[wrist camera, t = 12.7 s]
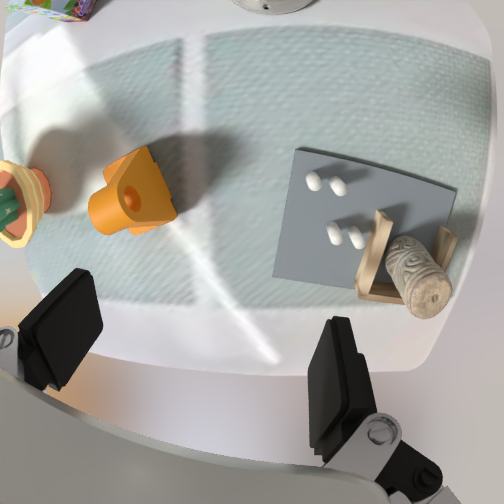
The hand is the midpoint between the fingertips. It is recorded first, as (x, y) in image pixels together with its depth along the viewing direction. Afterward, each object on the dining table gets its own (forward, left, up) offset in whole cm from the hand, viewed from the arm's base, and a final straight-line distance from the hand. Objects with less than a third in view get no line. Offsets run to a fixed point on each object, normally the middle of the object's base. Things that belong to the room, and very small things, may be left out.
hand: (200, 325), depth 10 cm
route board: (+5, +16, -28) cm, 33 cm away
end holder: (+7, +22, -27) cm, 36 cm away
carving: (+7, +22, -28) cm, 36 cm away
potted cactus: (+6, -40, -28) cm, 49 cm away
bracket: (+4, -16, -29) cm, 33 cm away
